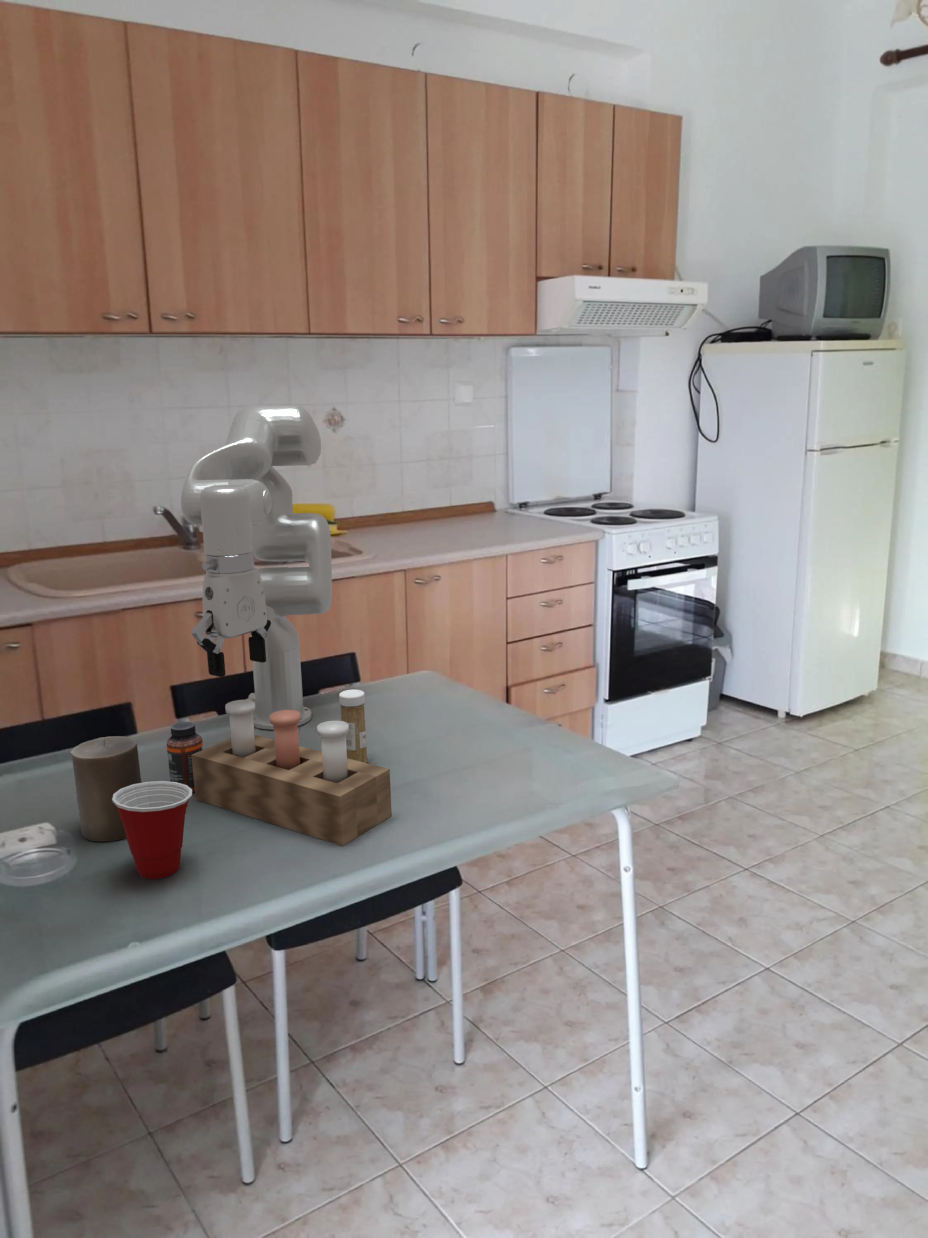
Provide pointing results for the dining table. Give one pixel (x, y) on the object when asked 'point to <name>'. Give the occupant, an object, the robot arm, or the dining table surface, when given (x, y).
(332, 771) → the grey plug
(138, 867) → the plastic cup
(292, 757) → the brick plug
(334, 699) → the dining table surface
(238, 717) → the grey plug
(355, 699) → the sprinkles bottle
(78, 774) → the pillar candle
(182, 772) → the supplement bottle
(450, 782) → the dining table surface
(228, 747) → the socket board
